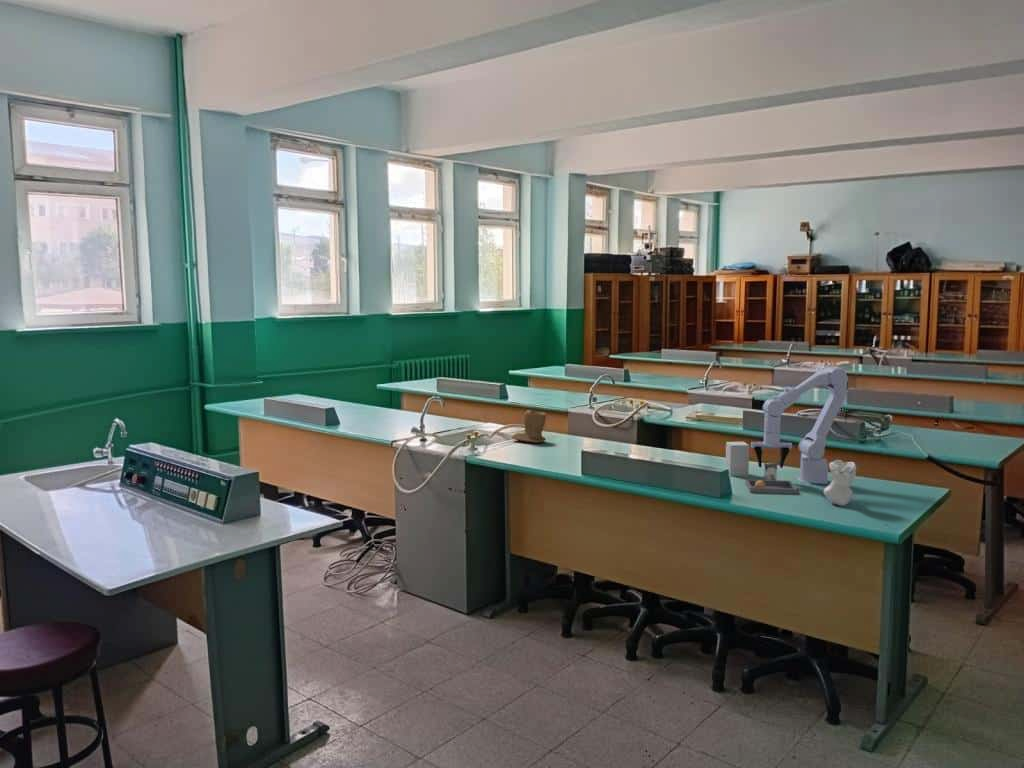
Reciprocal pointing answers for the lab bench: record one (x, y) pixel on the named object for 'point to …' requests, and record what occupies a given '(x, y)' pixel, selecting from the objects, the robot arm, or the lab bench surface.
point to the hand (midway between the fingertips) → (770, 467)
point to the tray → (772, 487)
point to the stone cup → (532, 427)
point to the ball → (760, 484)
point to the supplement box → (737, 458)
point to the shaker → (770, 471)
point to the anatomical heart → (841, 482)
